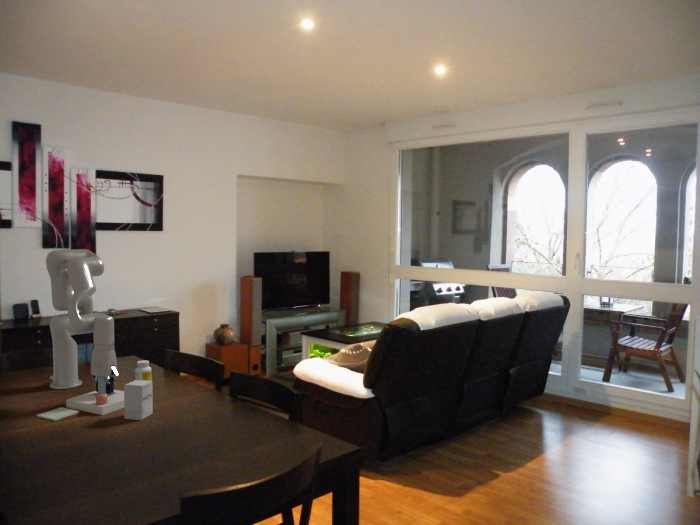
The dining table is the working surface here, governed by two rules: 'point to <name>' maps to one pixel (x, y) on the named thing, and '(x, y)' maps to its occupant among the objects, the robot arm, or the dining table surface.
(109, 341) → the robot arm
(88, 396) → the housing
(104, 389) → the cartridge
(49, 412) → the mat
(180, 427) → the dining table surface
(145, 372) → the supplement bottle
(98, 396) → the knob
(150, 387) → the supplement box
